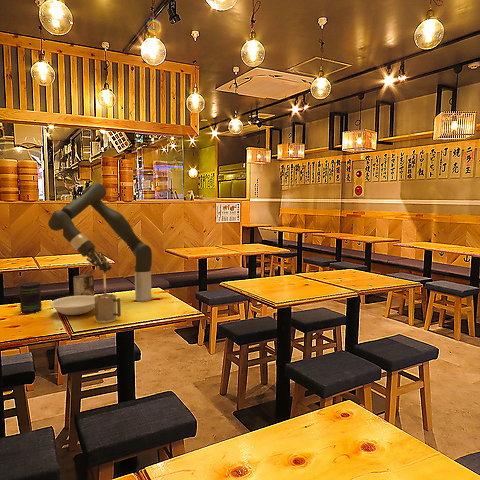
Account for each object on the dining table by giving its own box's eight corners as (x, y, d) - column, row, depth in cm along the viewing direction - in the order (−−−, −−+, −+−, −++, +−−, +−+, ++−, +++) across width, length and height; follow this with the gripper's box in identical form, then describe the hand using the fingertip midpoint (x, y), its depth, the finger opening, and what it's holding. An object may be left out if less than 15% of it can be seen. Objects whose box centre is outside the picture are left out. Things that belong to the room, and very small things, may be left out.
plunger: (101, 297, 191) (100, 261, 189) (113, 297, 191) (112, 261, 189) (97, 300, 185) (95, 263, 184) (108, 300, 185) (107, 263, 183)
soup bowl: (52, 309, 208) (52, 297, 207) (100, 305, 216) (99, 293, 216) (48, 322, 186) (47, 309, 185) (101, 317, 194) (100, 304, 193)
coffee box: (88, 301, 226) (87, 273, 224) (95, 302, 222) (94, 275, 220) (73, 304, 218) (72, 276, 217) (80, 306, 214) (79, 277, 213)
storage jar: (45, 311, 205) (44, 283, 203) (26, 315, 197) (24, 286, 195) (36, 307, 211) (34, 280, 209) (17, 312, 203) (15, 284, 201)
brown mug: (100, 317, 194) (99, 293, 193) (123, 317, 194) (123, 294, 193) (92, 323, 185) (91, 298, 183) (117, 323, 184) (116, 298, 183)
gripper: (84, 248, 193) (108, 272, 194) (70, 252, 179) (97, 278, 180) (94, 238, 193) (118, 262, 193) (81, 240, 178) (108, 267, 179)
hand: (108, 269), depth 187 cm, fingers closed on plunger, 3 cm apart
